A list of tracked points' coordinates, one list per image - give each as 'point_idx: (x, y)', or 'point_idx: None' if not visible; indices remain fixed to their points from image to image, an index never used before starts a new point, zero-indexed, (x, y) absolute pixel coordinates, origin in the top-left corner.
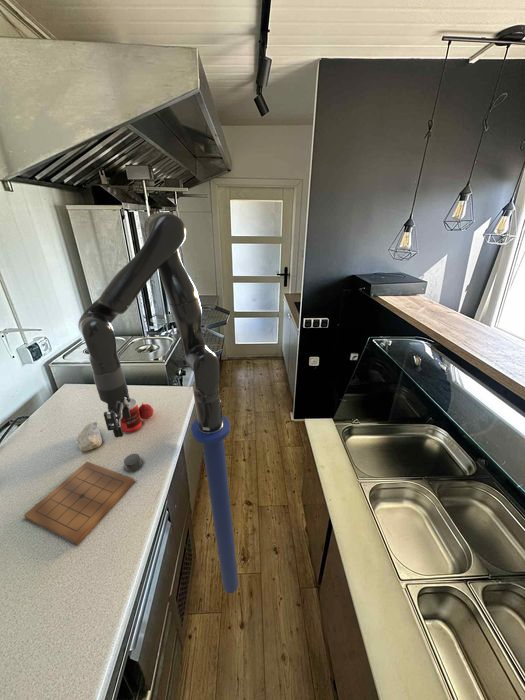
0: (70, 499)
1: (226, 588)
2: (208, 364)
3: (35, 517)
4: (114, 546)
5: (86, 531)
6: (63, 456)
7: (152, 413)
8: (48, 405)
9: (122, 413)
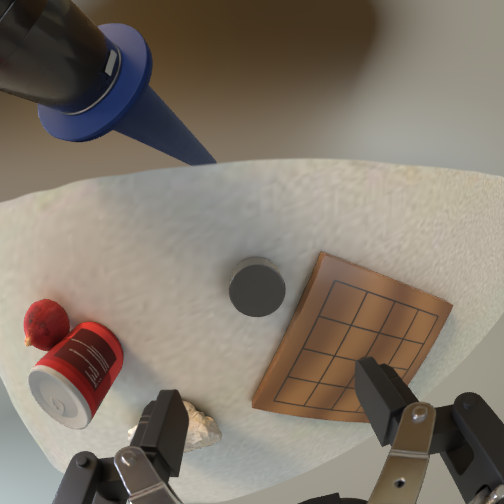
0: None
1: None
2: None
3: None
4: (459, 227)
5: (438, 298)
6: (227, 447)
7: (45, 300)
8: None
9: (181, 447)
